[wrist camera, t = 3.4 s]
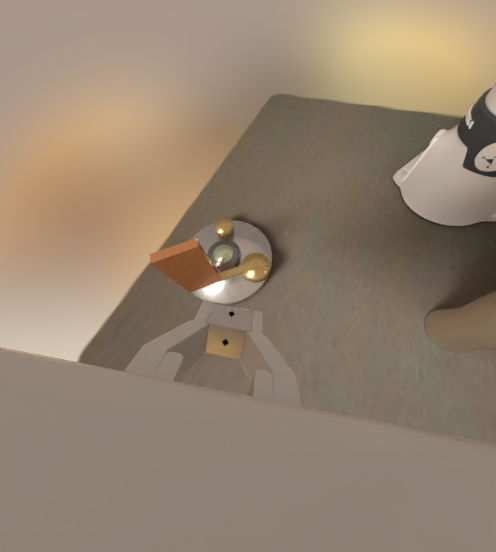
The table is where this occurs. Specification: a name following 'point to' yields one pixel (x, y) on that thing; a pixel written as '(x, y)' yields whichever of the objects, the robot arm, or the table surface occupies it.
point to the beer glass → (465, 326)
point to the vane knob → (205, 266)
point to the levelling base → (231, 258)
